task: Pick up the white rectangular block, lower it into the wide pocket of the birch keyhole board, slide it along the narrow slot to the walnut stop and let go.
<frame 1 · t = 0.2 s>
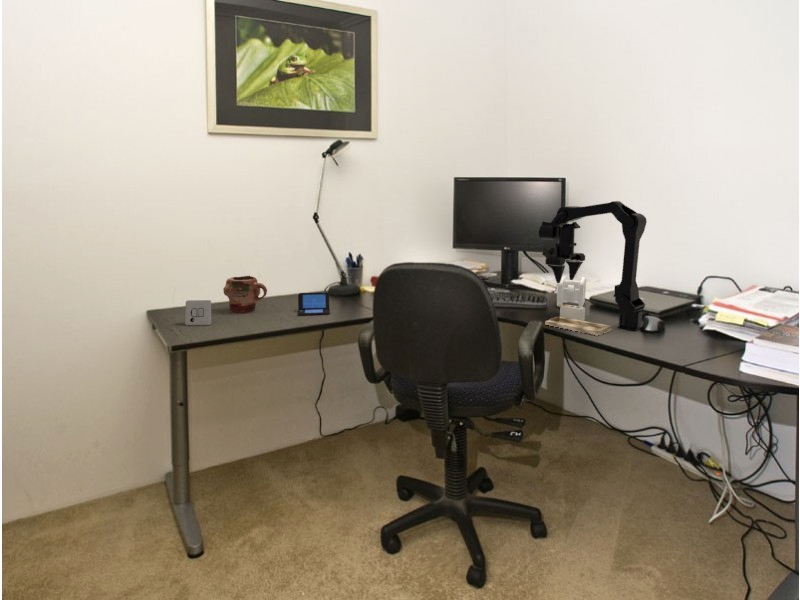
hand: (564, 281, 213), 13 cm above the table, tool pointing down, fingers open, 9 cm apart
reddish brown mug: (246, 311, 230), on the table
handheld game console: (314, 313, 226), on the table
cable organizer: (570, 306, 234), on the table
electrical switch: (199, 324, 210), on the table
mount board: (577, 327, 198), on the table
white rectangular block: (572, 319, 211), on the table
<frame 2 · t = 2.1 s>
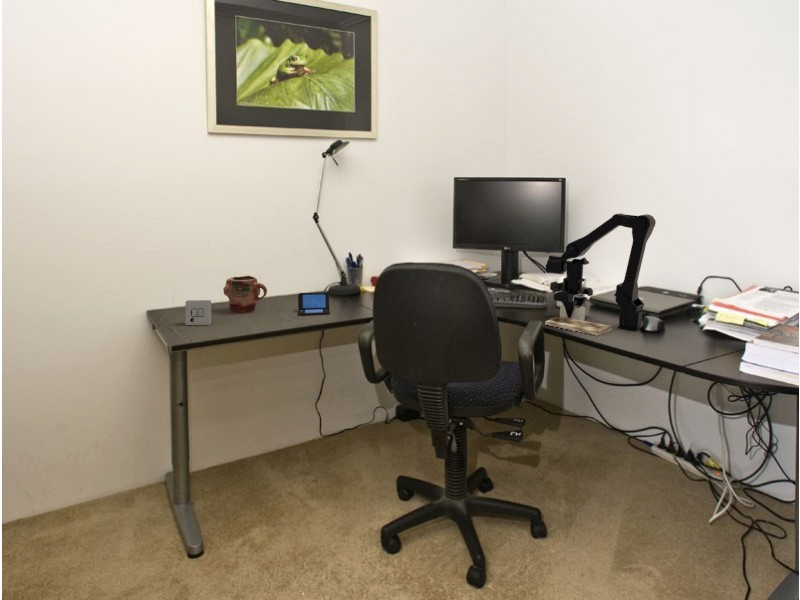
hand: (572, 316, 211), 1 cm above the table, tool pointing down, fingers closed on white rectangular block, 4 cm apart
white rectangular block: (572, 319, 211), on the table, touching gripper
everything else where it was.
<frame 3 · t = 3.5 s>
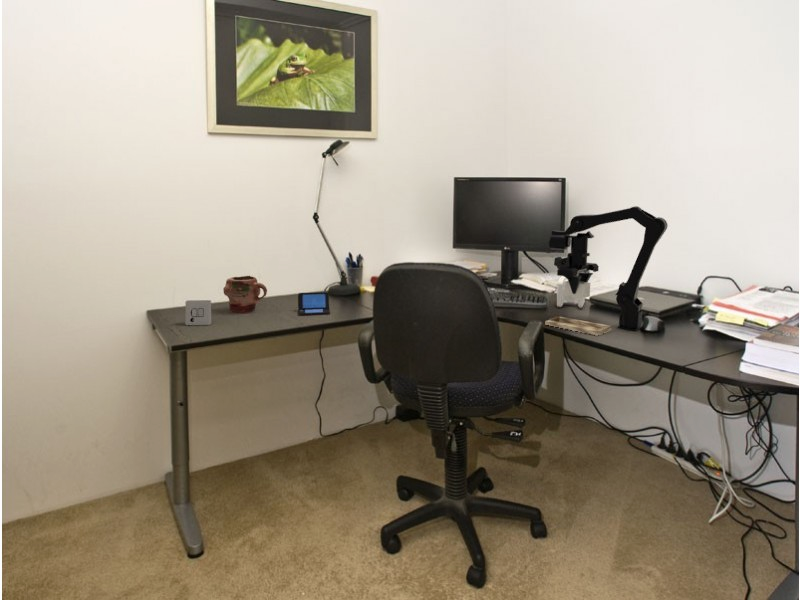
hand: (577, 292, 205), 11 cm above the table, tool pointing down, fingers closed on white rectangular block, 4 cm apart
white rectangular block: (576, 295, 206), point 10 cm above the table, touching gripper
everything else where it was.
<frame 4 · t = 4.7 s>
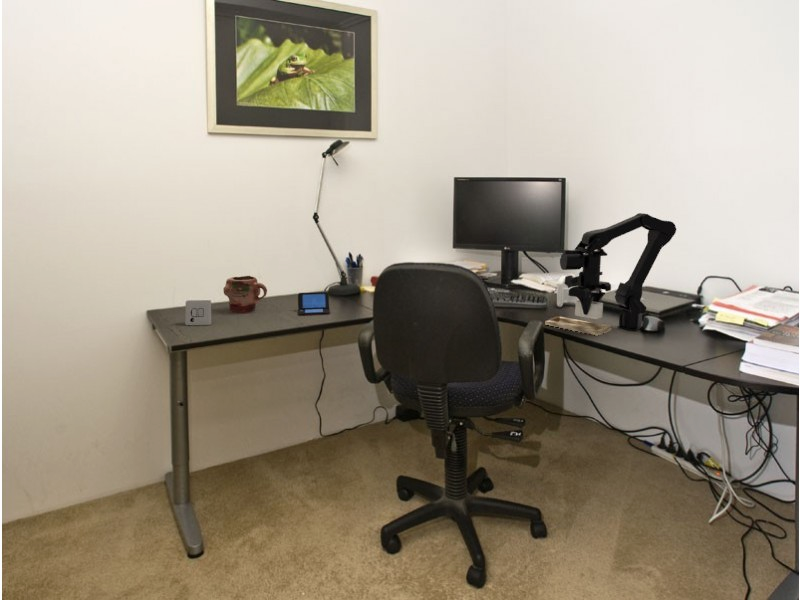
hand: (588, 313, 195), 6 cm above the table, tool pointing down, fingers closed on white rectangular block, 4 cm apart
white rectangular block: (588, 316, 195), point 5 cm above the table, touching gripper
everything else where it was.
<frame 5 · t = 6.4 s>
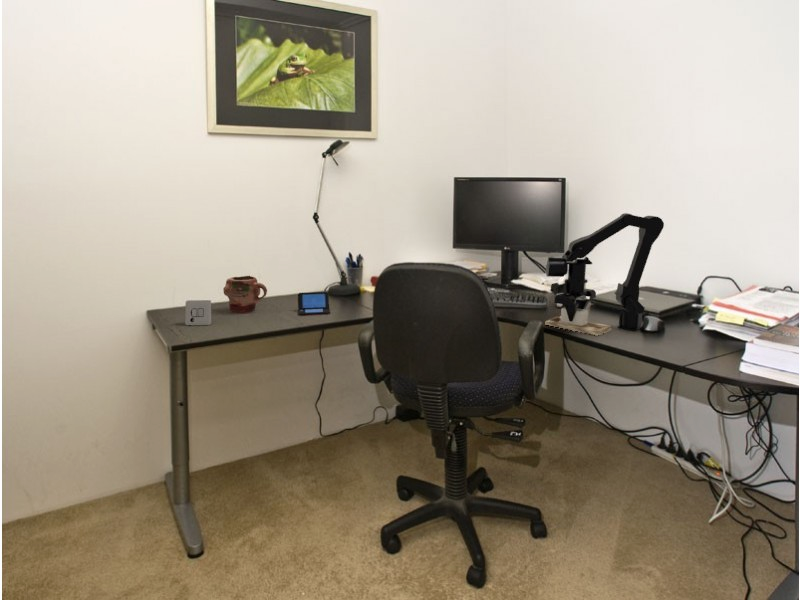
hand: (574, 320, 199), 3 cm above the table, tool pointing down, fingers closed on white rectangular block, 4 cm apart
white rectangular block: (573, 323, 199), point 2 cm above the table, touching gripper
everything else where it was.
when the fingers open (2 cm above the table, at t = 7.4 s): white rectangular block drops 1 cm, resting on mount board.
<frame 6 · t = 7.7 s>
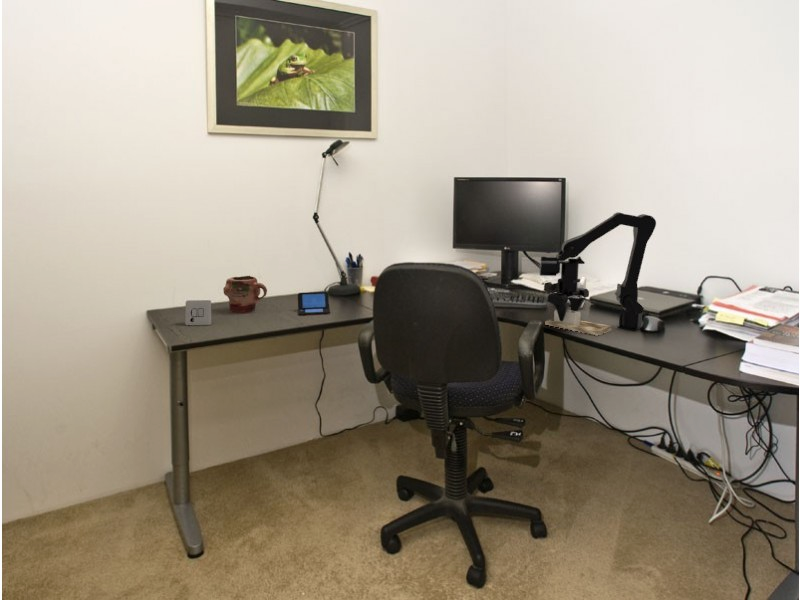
hand: (567, 319, 201), 2 cm above the table, tool pointing down, fingers open, 7 cm apart
white rectangular block: (566, 324, 201), resting on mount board
everything else where it was.
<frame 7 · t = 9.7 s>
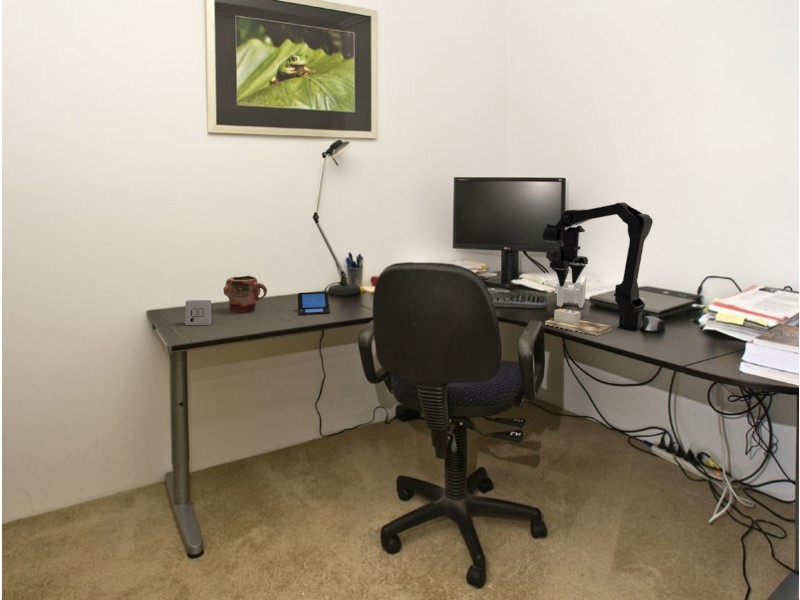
hand: (567, 284, 213), 12 cm above the table, tool pointing down, fingers open, 9 cm apart
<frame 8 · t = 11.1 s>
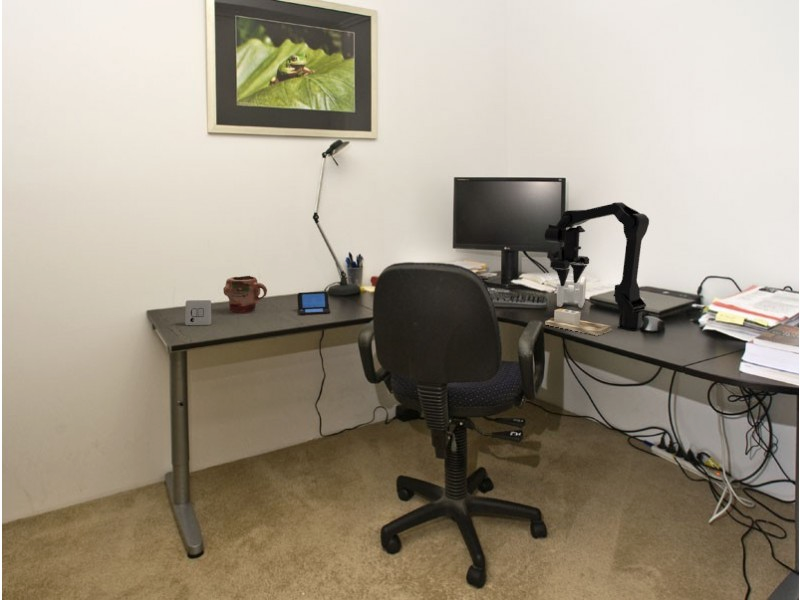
hand: (568, 284, 215), 12 cm above the table, tool pointing down, fingers open, 9 cm apart
at the end: white rectangular block 1.0 cm from the target spot on the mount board, point 0.4 cm above the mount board's base; white rectangular block tilted 0°; the gripper is holding nothing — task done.
